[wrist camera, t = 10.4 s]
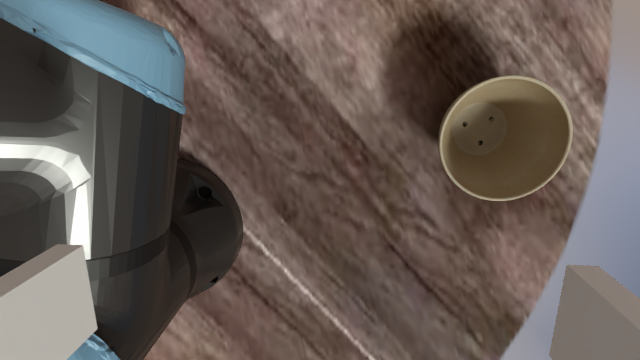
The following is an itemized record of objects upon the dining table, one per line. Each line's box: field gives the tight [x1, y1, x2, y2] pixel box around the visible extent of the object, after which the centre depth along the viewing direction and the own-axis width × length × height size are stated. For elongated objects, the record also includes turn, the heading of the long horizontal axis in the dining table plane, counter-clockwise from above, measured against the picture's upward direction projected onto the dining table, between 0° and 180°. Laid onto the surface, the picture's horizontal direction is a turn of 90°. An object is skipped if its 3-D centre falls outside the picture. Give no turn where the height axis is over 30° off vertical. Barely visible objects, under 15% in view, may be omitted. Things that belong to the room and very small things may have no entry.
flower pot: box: [438, 75, 573, 201], centre depth 33 cm, size 10×10×7 cm
